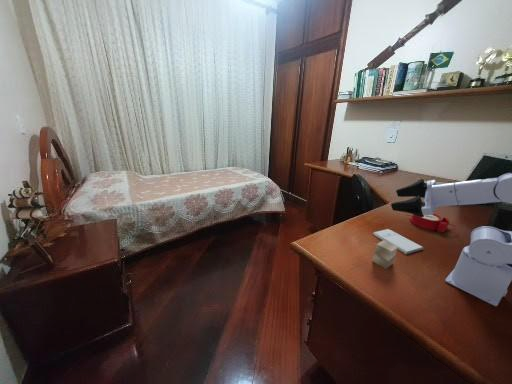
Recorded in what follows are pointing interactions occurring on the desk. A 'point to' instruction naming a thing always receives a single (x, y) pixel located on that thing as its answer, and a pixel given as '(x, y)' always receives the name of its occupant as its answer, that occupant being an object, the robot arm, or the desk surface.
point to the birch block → (385, 254)
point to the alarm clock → (431, 222)
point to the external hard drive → (398, 241)
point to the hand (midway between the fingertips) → (394, 199)
